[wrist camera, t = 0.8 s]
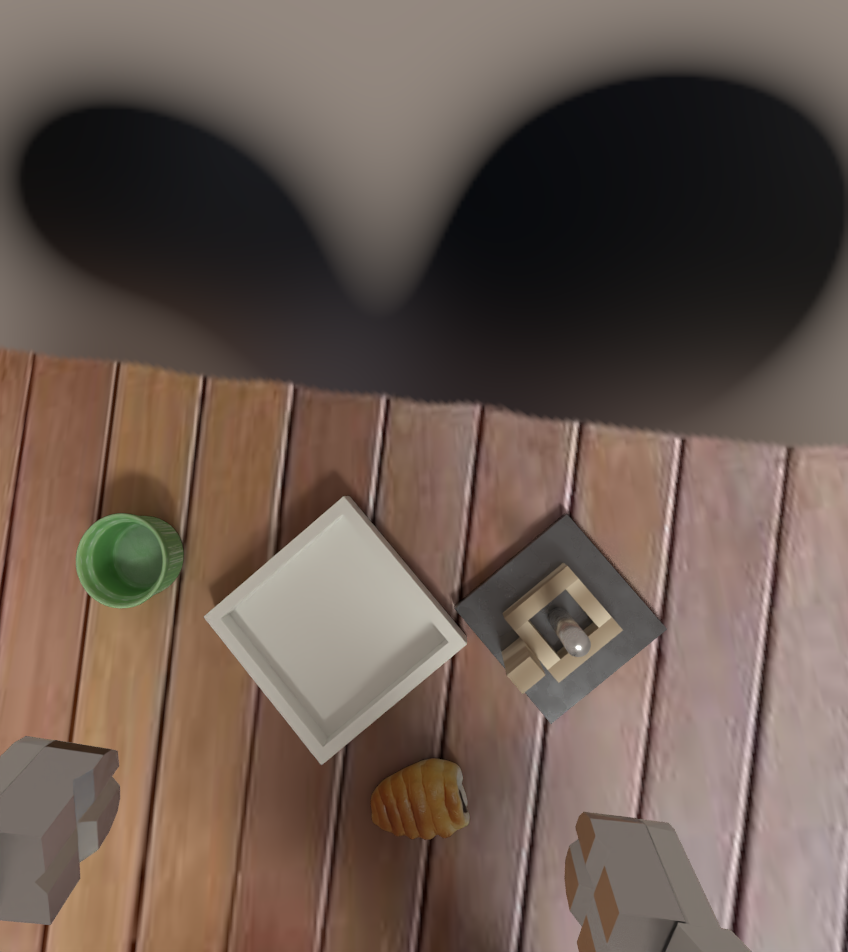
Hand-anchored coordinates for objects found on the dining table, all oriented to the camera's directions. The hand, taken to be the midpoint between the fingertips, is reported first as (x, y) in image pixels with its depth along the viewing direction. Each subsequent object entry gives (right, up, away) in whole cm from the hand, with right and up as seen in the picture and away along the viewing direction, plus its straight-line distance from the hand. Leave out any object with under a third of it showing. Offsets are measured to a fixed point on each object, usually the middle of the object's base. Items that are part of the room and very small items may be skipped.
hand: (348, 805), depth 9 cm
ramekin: (-27, -2, +44) cm, 52 cm away
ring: (+13, -8, +39) cm, 43 cm away
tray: (-7, -9, +42) cm, 44 cm away
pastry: (+2, -25, +41) cm, 49 cm away
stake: (+14, -8, +40) cm, 44 cm away
